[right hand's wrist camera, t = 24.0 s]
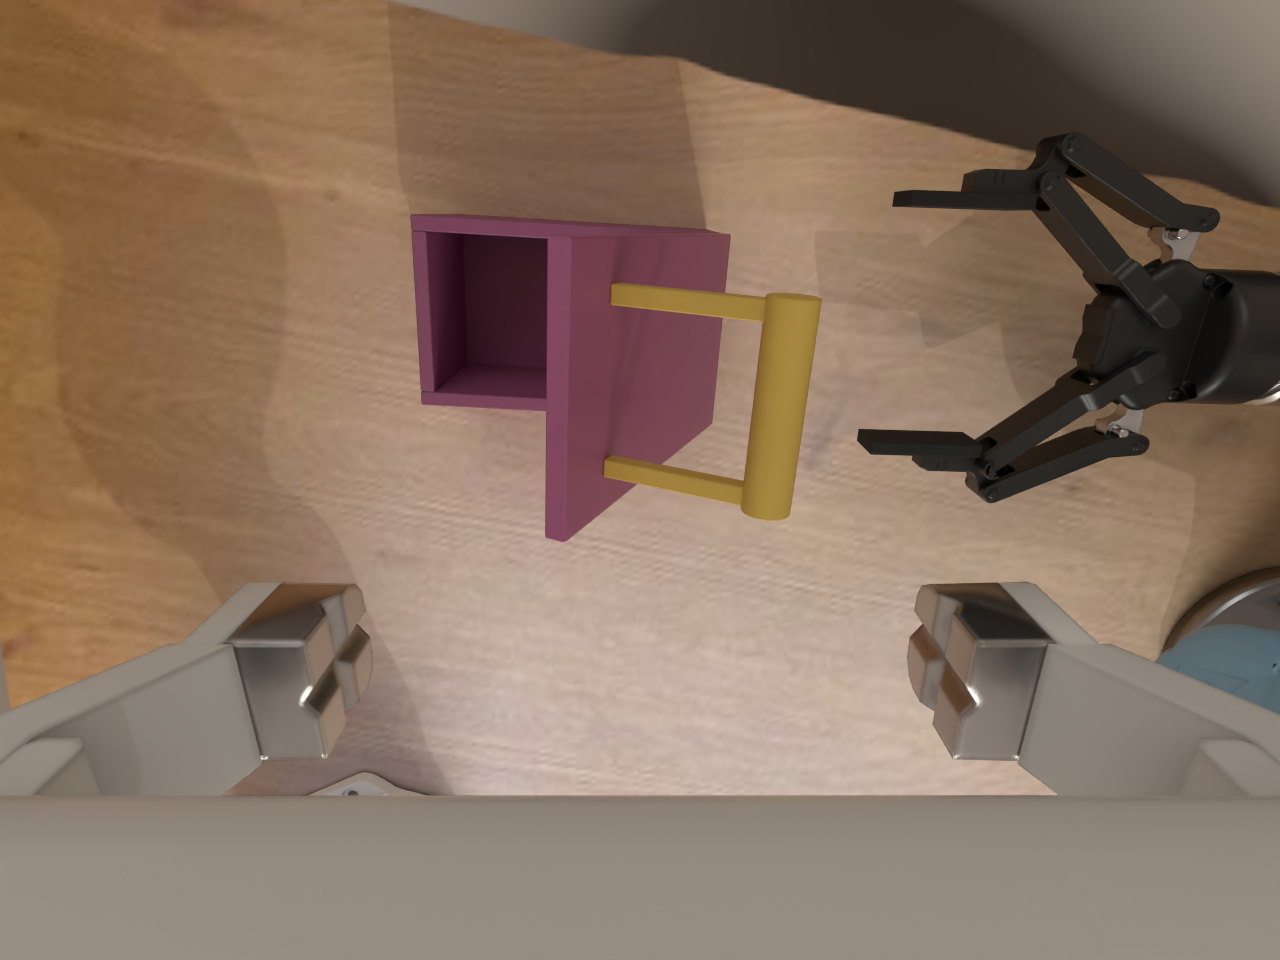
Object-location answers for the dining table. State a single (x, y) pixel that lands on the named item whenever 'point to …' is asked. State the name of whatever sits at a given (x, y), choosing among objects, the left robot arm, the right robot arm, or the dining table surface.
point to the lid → (661, 374)
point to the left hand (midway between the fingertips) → (881, 327)
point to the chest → (489, 305)
